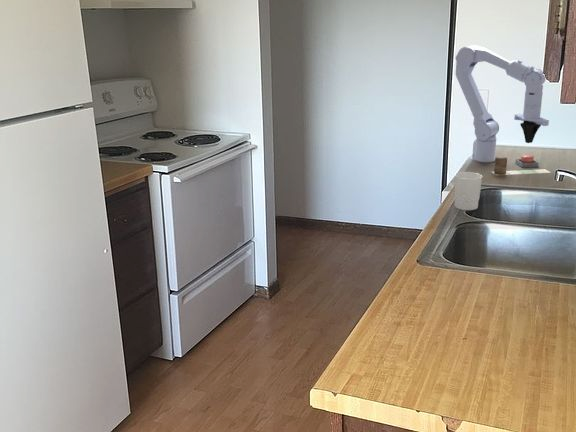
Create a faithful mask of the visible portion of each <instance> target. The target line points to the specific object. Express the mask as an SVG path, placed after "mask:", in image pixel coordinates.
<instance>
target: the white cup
mask: <svg viewBox="0 0 576 432" xmlns="http://www.w3.org/2000/svg"><path fill="white" fill-rule="evenodd" d="M482 182H483V175H482V174H481V173H478V172H472V171H462V172H461V171H460V172H456V173H455V174H454V207H455V208H456V209H458V210H461V211H474V210H477V209H478V207H479V200H480V195H481V189H482V188H481V187H482Z"/></svg>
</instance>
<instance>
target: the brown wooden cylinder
mask: <svg viewBox="0 0 576 432" xmlns="http://www.w3.org/2000/svg"><path fill="white" fill-rule="evenodd" d="M507 167H508V157H506V156H495V161H494V167H493V168H494V169H493V172H494V173H495V174H498V175H497V176H505V175H504V174H506V173H507V172H506V171H507ZM495 174H494V175H495Z"/></svg>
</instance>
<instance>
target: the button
mask: <svg viewBox="0 0 576 432" xmlns="http://www.w3.org/2000/svg"><path fill="white" fill-rule="evenodd" d="M520 159H521V162H522V163H533V161H534V160H535V157H534V155H530V154H524V155H523V154H522V155H520Z"/></svg>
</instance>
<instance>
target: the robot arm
mask: <svg viewBox="0 0 576 432" xmlns="http://www.w3.org/2000/svg"><path fill="white" fill-rule="evenodd" d="M455 61H456V62H455V77H456V79H457V81H458V84H459V86H460V89H461V91H462V93H463V95H464V98H465V100H466V102H467V104H468V107H469V109H470V111H471V112H470V113H471V115H472V116H473V126H474V135H475V139H474V141H473V143H472V155H471V156H472V157H469V159H470V160H472V161H473V160H474V161H475V162H479V163H493V162H495V157H496V150H497V137H496V136H497V134H498V133H499V131H500V126H499V123H498V122H497V121H496V120H495V119H494V117H493V115H492V114H490V112H489V111H488V110H487V106H486V105H485V103H484V100H483V98H482V96H481V95H482V94H481V93H480V91H479V88H478V86H477V84H476V82H475V79H474V77H473V74H472V73H473V71H474V68H475V66H476V65H477V64H478V63H481V62H482V63H483V62H485V63H489V64H491V65H493V66H496V67H497V68H499V69H502V70H505V73H506V75H507V76H509V77H511V78H512V79H515V80H517V81H519V82H521V83H524V85H525V91H524V102H523V103H524V104H523V110H522V111H523V114H521V113H516V114H514V120H516V121H521V122H520V124H519V125H520V127H521V129H522V133H523V136H524V142H525V143H527V144H530V143H531V144H532V143H533V142H534V139H535V137H536V134H537V132H538V131H539V129H540V128H541V126H543V127H547V126H548V127H549V123H550V120H549V119H545V118H543V117H541V113H542V103H543V102H542V101H543V89H544V83H545V82H546V79H547V78H546V79H545V77H544V75H543V72H544V71H543V70H542V69H540V68H536V69H535V67H534V66H529V65H527V64H524V63H523V60H521V59H518V60H516V59H514V60H512V61H511V60H508V59H506V58H505V57H502V56H500V55H499V54H497V53H495V52H493V51H491V50H489V49H487V48H486V47H483V46H480V45H477V44H472V45H470V46H463V47H462V48H460V49H459V50H458V52H457V53H456V56H455Z"/></svg>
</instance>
